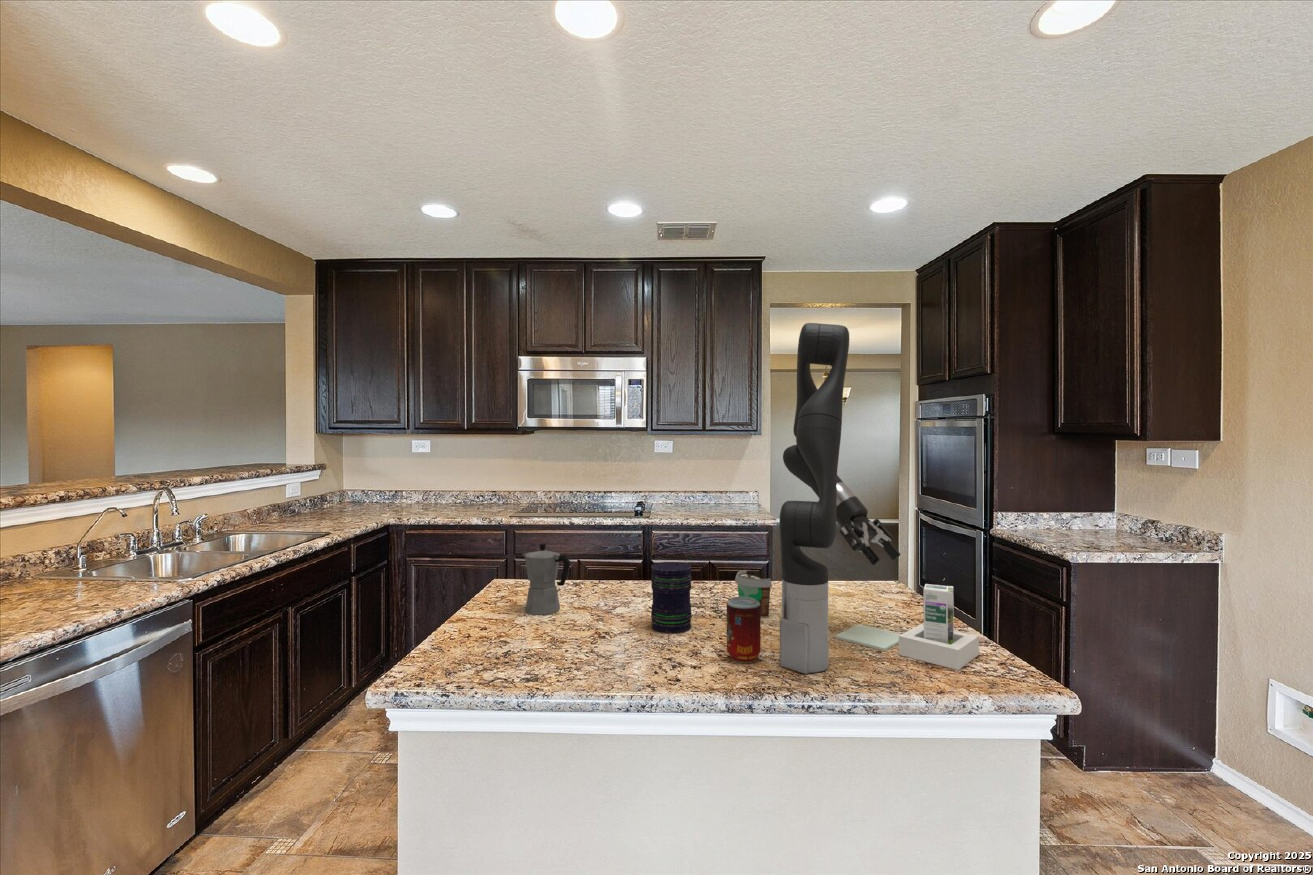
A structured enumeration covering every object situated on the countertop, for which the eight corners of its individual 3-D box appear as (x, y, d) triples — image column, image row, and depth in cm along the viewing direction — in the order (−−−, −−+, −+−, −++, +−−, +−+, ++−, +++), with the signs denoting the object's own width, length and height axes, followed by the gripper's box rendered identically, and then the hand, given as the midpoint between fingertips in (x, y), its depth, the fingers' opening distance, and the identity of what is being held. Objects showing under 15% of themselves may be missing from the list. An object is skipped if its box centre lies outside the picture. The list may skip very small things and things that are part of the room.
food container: (726, 608, 163) (726, 571, 163) (745, 605, 166) (745, 569, 166) (751, 621, 152) (751, 581, 152) (772, 617, 155) (771, 578, 155)
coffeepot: (511, 612, 160) (511, 544, 160) (534, 603, 169) (534, 539, 169) (558, 620, 153) (558, 549, 153) (580, 610, 162) (580, 543, 161)
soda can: (723, 652, 130) (723, 595, 130) (755, 651, 130) (756, 594, 130) (730, 665, 123) (730, 604, 123) (764, 664, 123) (764, 604, 123)
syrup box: (923, 657, 127) (922, 588, 127) (925, 648, 132) (924, 582, 132) (953, 661, 124) (953, 591, 124) (954, 652, 130) (954, 585, 130)
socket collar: (958, 670, 120) (958, 649, 120) (898, 654, 128) (898, 635, 128) (978, 654, 128) (978, 635, 128) (921, 641, 137) (921, 623, 137)
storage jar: (675, 636, 140) (675, 572, 140) (642, 628, 146) (642, 567, 146) (699, 626, 148) (699, 565, 148) (667, 618, 154) (667, 560, 154)
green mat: (885, 651, 130) (885, 648, 130) (834, 638, 139) (834, 635, 139) (908, 638, 139) (908, 635, 139) (859, 626, 147) (859, 624, 147)
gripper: (835, 497, 139) (881, 554, 131) (869, 493, 148) (914, 546, 140) (816, 517, 144) (859, 574, 135) (850, 512, 153) (893, 565, 144)
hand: (887, 560), depth 137 cm, fingers open, 8 cm apart
